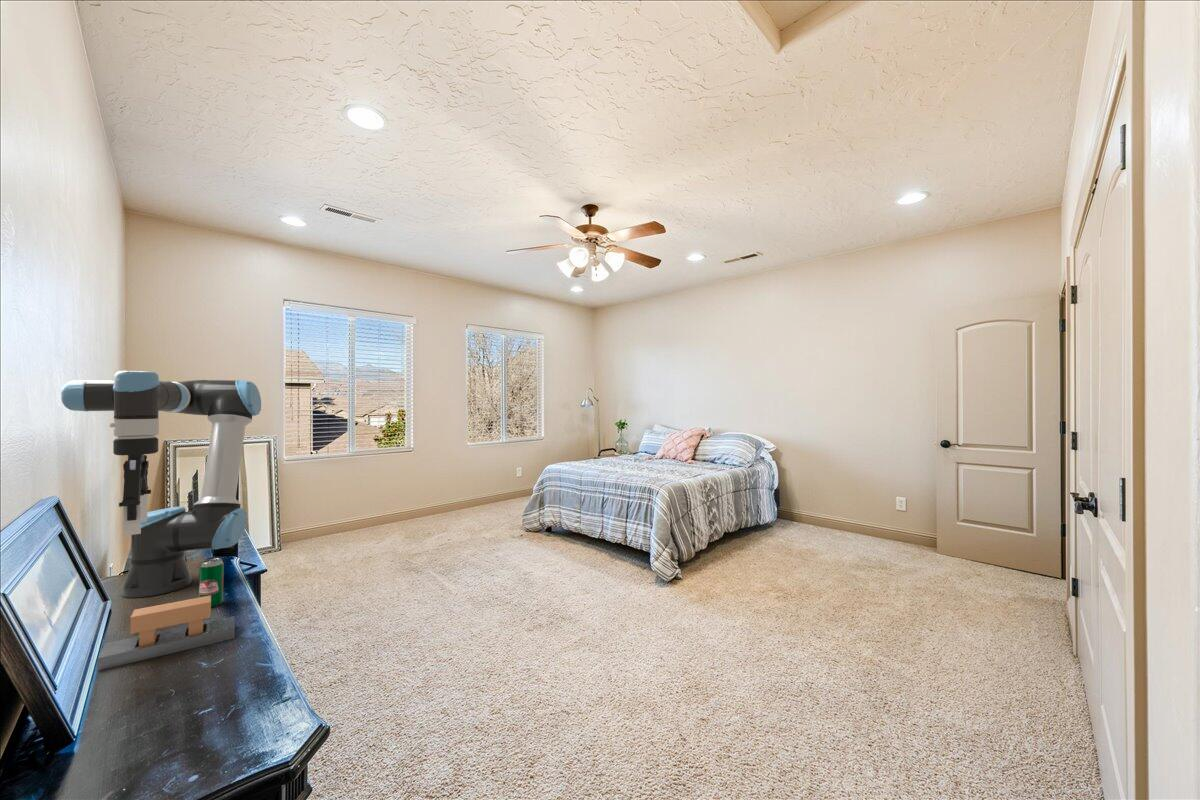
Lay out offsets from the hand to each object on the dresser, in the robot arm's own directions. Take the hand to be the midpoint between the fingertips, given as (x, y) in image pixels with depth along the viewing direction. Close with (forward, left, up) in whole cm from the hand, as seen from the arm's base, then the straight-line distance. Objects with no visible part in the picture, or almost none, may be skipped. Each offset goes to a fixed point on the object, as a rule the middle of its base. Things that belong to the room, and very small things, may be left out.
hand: (135, 528), depth 110 cm
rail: (+11, +7, -25) cm, 29 cm away
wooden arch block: (+11, +7, -25) cm, 29 cm away
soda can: (-13, +13, -26) cm, 32 cm away
